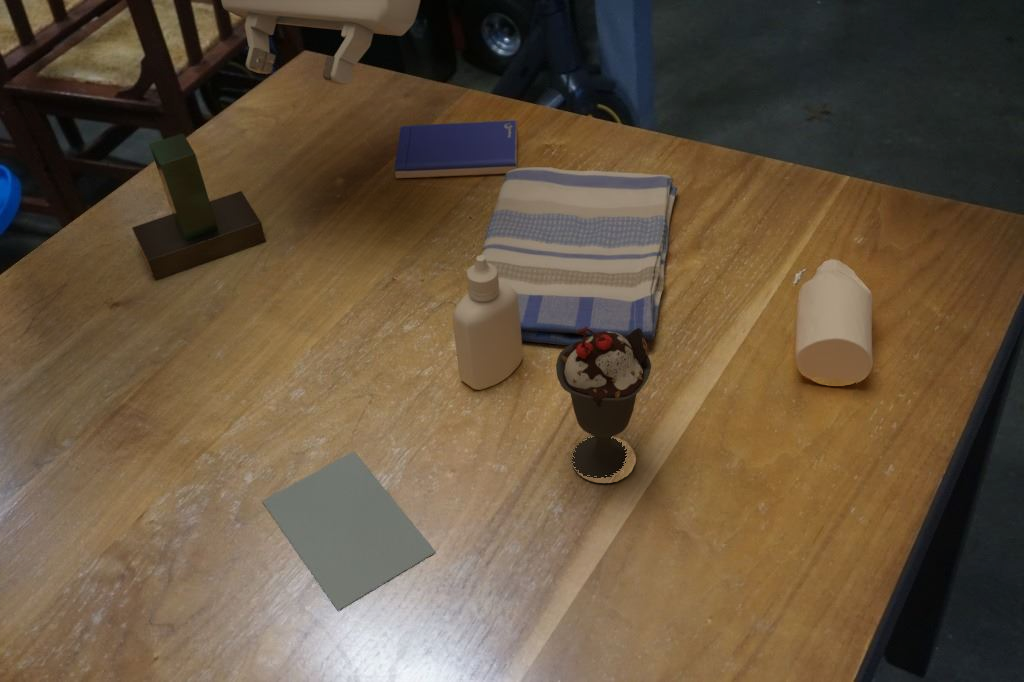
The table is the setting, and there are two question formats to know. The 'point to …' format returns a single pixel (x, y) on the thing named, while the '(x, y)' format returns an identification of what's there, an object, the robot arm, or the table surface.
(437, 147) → the blue hardcover book
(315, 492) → the gray rectangular card
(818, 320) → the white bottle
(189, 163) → the green post on base
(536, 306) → the dish towel
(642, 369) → the sundae
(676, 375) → the table surface
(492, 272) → the eye dropper bottle
